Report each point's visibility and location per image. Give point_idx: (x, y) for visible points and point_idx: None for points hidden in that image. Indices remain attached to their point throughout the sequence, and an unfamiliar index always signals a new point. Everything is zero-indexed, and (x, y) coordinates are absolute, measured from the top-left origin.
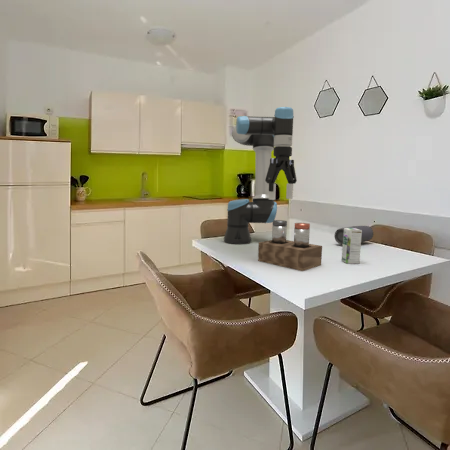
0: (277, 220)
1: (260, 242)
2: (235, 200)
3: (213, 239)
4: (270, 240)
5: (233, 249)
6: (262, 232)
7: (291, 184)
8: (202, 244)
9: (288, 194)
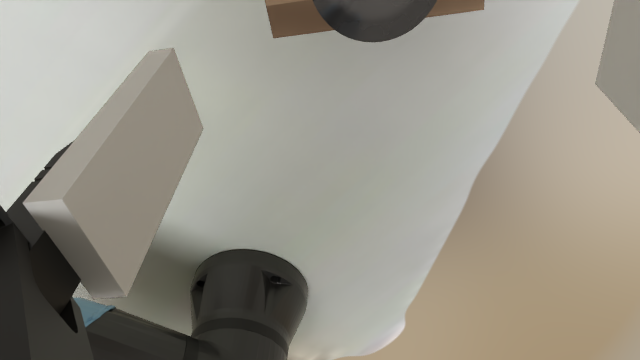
0: (366, 14)
1: (475, 2)
2: None
3: (306, 344)
4: None
5: (367, 206)
6: None
7: (78, 199)
8: (403, 310)
9: (174, 131)
